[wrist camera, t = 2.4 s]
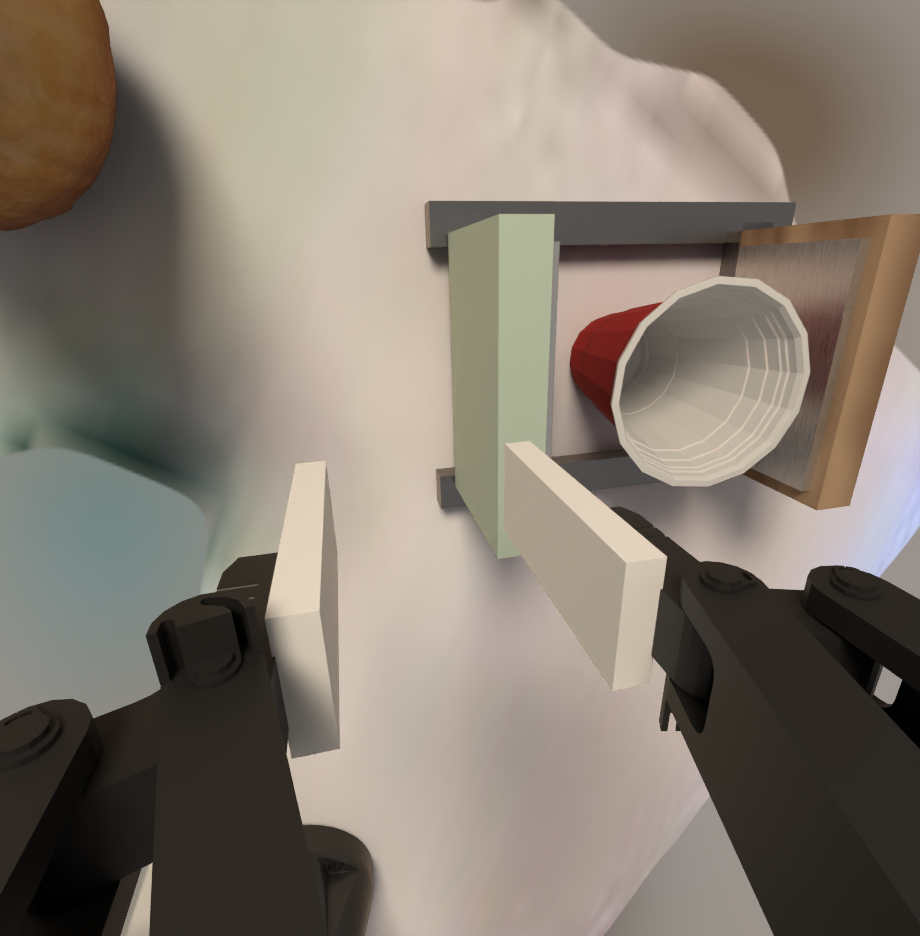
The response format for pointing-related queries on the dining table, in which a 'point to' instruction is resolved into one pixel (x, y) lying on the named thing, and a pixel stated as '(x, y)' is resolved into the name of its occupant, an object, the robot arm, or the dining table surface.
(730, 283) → the plastic cup
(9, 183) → the butternut squash
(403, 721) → the dining table surface
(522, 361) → the block
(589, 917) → the dining table surface
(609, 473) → the vise bed
